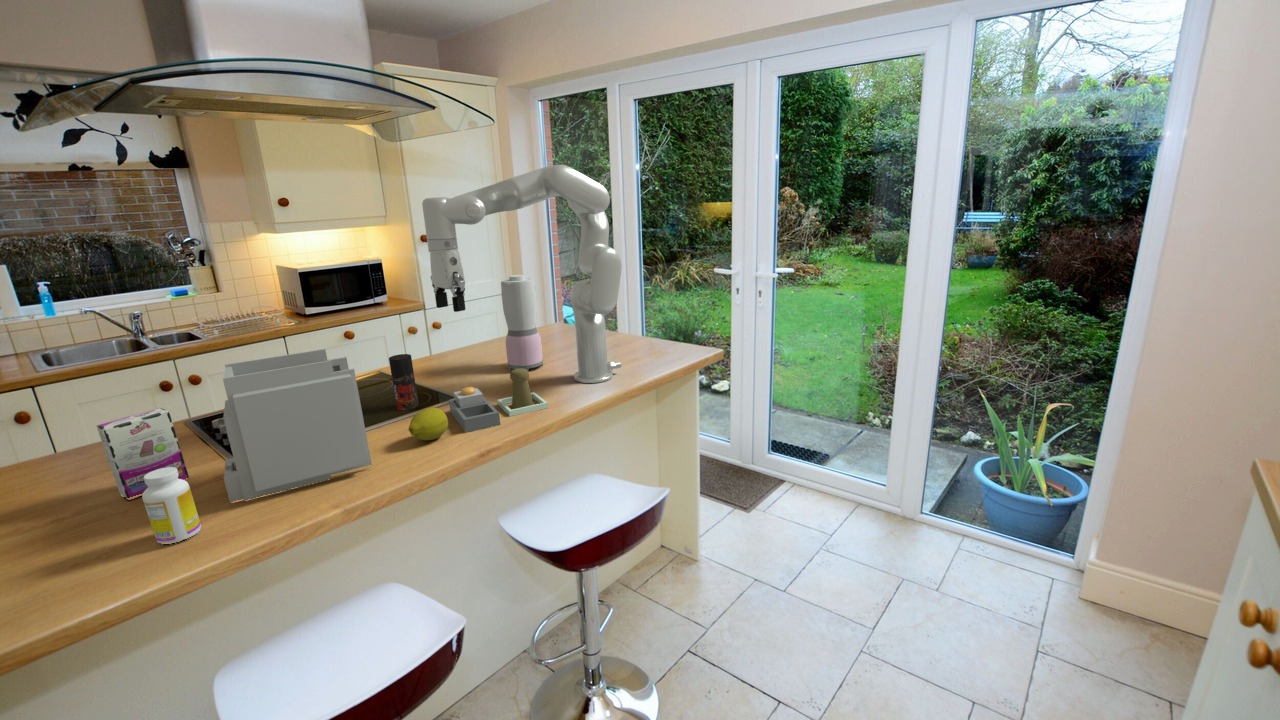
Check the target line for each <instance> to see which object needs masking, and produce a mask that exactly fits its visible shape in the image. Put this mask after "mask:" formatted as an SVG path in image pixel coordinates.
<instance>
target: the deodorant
mask: <svg viewBox="0 0 1280 720" xmlns="http://www.w3.org/2000/svg"><path fill="white" fill-rule="evenodd" d="M388 362H389V368H390V374H391V380H392V386H393V392H394V393H393V394H394V398H395V403H396V410H400V411H408V409H409V410H413V409H415V407H416V408H417V407H419V397H418V392H417V385H416V379H415V372H414V366H413V360H412V354H409V353H402V354H395V355H391V356H389V358H388ZM412 408H413V409H412Z"/></svg>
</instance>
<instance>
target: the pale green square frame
mask: <svg viewBox="0 0 1280 720" xmlns="http://www.w3.org/2000/svg"><path fill="white" fill-rule="evenodd" d="M530 393H531V397H532V400H534V401H536V402H537V403H536V404H533V405H531V406H526V407H522V408H517V409H512V408H510V407H509V406H508V405H507V404H512V396H510V397H509V396H508V397H504V398H499V399H497V405H498V406H499V407H500V408H501V409H502V410H503V411H504V412H505V413H506V414H507V415H508V416H509V417H514V416H518V415H522V413H523V414H527V413H531V411H532V412H535V411H539V410H540V409H541V410H544V409H545V410H546V409H548V408H549V404H548V402H547V400H545V399H543V398H542V397H541V396H540V395H538V393H536V392H535V391H533V392H530ZM539 403H540V404H539ZM513 415H514V416H513Z"/></svg>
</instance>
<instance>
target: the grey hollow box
mask: <svg viewBox="0 0 1280 720" xmlns="http://www.w3.org/2000/svg"><path fill="white" fill-rule="evenodd" d="M483 400H484V403H482V404H477V405H472V406H467V407H463V408H458V406H457V405H456V404H455V399H454V398H451V399H449V400H448V404H449V411H450V414H451V415H452V416H453V417H454V419H455V420H456V421H457V422H458V424H459V425H460V427H461V428H462V429H463V431H464V433H466V432H467V433H472V432H475V430H476V431H478V430H479V431H481V430H483V429H488V427H489V428H492V427H491V426H493V427H497V426H500V425H501V418H500V412H499V411H498V410H497V409H496V408H495V407H494V406H493V404H491V403H490V402H489V401H488V400H487V399H486V397H485V396H484V395H483ZM496 425H497V426H496Z"/></svg>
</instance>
